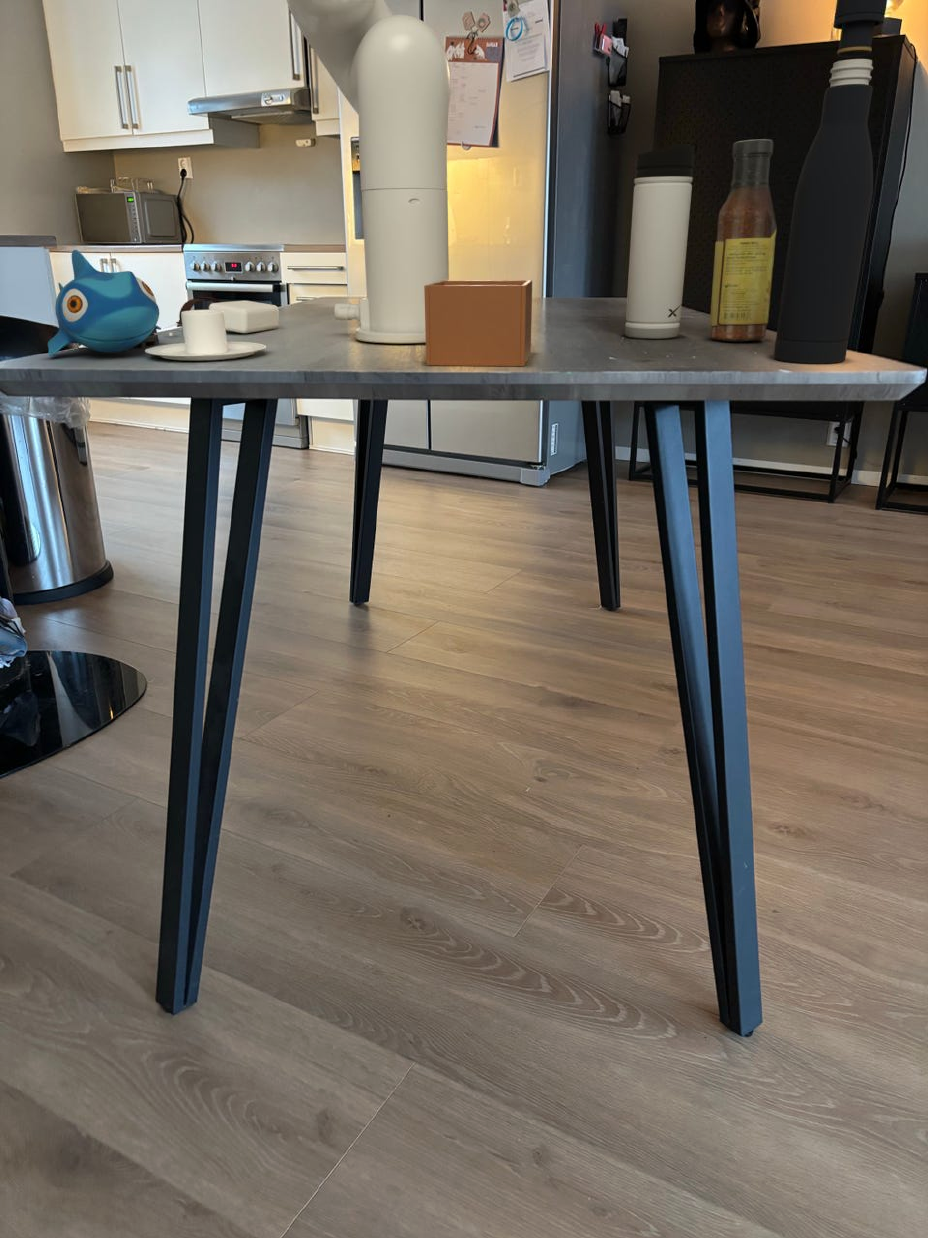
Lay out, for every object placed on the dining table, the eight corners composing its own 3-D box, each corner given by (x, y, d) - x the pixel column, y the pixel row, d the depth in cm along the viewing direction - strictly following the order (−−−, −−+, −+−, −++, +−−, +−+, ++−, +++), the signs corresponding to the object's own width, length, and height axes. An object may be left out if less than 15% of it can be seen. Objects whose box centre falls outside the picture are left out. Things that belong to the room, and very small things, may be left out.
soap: (206, 302, 108) (206, 327, 109) (245, 309, 106) (245, 334, 108) (243, 299, 116) (243, 322, 117) (281, 305, 114) (280, 329, 116)
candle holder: (263, 361, 85) (259, 314, 83) (135, 364, 83) (128, 317, 81) (269, 347, 96) (265, 305, 94) (156, 350, 94) (150, 307, 92)
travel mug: (686, 339, 99) (704, 140, 91) (629, 339, 100) (641, 141, 91) (675, 333, 105) (691, 145, 97) (621, 333, 105) (632, 146, 97)
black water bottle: (781, 363, 80) (834, -32, 68) (767, 354, 86) (814, -11, 74) (853, 364, 80) (920, -36, 67) (834, 355, 85) (893, -14, 73)
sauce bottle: (777, 341, 97) (803, 138, 89) (734, 344, 94) (757, 135, 86) (736, 335, 102) (757, 144, 94) (694, 338, 100) (712, 142, 92)
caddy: (426, 365, 81) (424, 285, 78) (441, 352, 90) (440, 280, 87) (524, 366, 80) (525, 285, 77) (530, 353, 89) (532, 280, 86)
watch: (174, 333, 110) (195, 342, 108) (176, 295, 107) (198, 304, 106) (216, 327, 116) (237, 336, 115) (219, 291, 113) (241, 300, 112)
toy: (81, 368, 82) (41, 255, 78) (25, 361, 95) (-12, 265, 91) (198, 338, 89) (167, 232, 84) (130, 336, 102) (101, 245, 97)
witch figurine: (222, 318, 117) (217, 304, 116) (190, 330, 106) (183, 315, 106) (187, 330, 118) (181, 316, 117) (151, 343, 107) (144, 328, 107)
